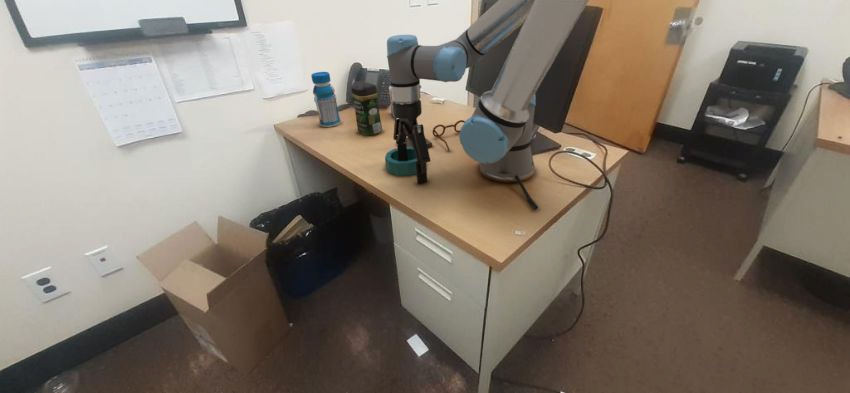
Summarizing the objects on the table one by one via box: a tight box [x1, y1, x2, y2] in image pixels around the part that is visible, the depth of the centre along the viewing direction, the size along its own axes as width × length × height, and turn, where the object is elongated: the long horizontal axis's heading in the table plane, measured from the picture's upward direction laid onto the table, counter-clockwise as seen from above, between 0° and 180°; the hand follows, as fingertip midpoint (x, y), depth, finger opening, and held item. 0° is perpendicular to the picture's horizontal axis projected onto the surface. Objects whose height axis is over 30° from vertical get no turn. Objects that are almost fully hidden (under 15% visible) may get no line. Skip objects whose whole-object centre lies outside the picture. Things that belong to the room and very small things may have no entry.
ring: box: [384, 147, 417, 177], centre depth 105 cm, size 12×12×4 cm
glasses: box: [432, 119, 466, 152], centre depth 119 cm, size 13×13×5 cm
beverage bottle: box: [311, 71, 341, 128], centre depth 137 cm, size 8×8×20 cm
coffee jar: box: [350, 80, 383, 137], centre depth 127 cm, size 10×8×19 cm
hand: (412, 172), depth 102 cm, fingers open, 12 cm apart
